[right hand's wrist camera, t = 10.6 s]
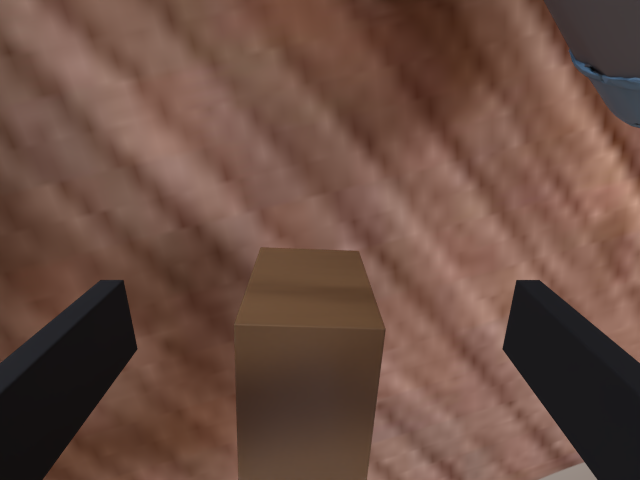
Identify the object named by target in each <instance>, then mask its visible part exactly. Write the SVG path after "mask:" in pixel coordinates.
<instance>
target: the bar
mask: <svg viewBox="0 0 640 480" xmlns="http://www.w3.org/2000/svg"><path fill="white" fill-rule="evenodd" d="M384 337H385V326H384V323H383V321H382V318H381V315H380V312H379V309H378V306H377V303H376V300H375V297H374V294H373V291H372V288H371V285H370V282H369V280H368V277H367V274H366V271H365V268H364V265H363V262H362V259H361V256H360V253H359V251H343V250H317V249H290V248H263V247H261V248H260V251H259V254H258V257H257V260H256V263H255V265H254V268H253V271H252V274H251V277H250V280H249V283H248V286H247V289H246V292H245V294H244V297H243V300H242V303H241V306H240V309H239V312H238V315H237V318H236V321H235V323H234V342H235V377H236V412H237V446H238V480H367V474H368V466H369V458H370V450H371V442H372V434H373V426H374V418H375V410H376V402H377V394H378V386H379V377H380V369H381V361H382V353H383V345H384Z"/></svg>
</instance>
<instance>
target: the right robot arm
mask: <svg viewBox="0 0 640 480" xmlns="http://www.w3.org/2000/svg"><path fill="white" fill-rule="evenodd" d="M544 2H545V4H546V6H547V7H548V9H549V11H550V13H551V15H552V17H553V19H554V20H555V22H556V24H557V26H558V28H559V30H560V32H561V33H562V35H563V37H564V39H565V41H566V43H567V44H568V46H569V48H570V49H569V52H570V55H571V58H572V62H573V63H574V66H575V67H576V68H577V69H578V70H579V71H580V72H581V73H582V74H584V75H585V76H586V77H588V78H589V79H590V81H591V82H592V84H593V85H594V87H595V88H596V90H597V91H598V93H599V95H600V96H601V98H602V99H603V101H604V102H605V104H606V105H607V107H608V108H609V109H610V111H611V112H612V113H613V114H614V115H615V116H616V117H618V118H619V119H620V120H622V121H624V122H625V123H627V124H629V125H631V126H634V127H638V128H640V0H544ZM136 350H137V344H136V339H135V335H134V330H133V325H132V320H131V315H130V310H129V305H128V300H127V295H126V290H125V285H124V280H100V281H99V282H98V283H97V284H95V285H94V286H93V287H92V288H90V289H89V290H88V291H87V292H86V293H84V294H83V295H82V296H81V297H80V298H78V299H77V300H76V301H75V302H74V303H72V304H71V305H70V306H69V307H68V308H66V309H65V310H64V311H63V312H62V313H60V314H59V315H58V316H57V317H55V318H54V319H53V320H52V321H51V322H49V323H48V324H47V325H46V326H45V327H43V328H42V329H41V330H40V331H39V332H37V333H36V334H35V335H34V336H33V337H31V338H30V339H29V340H28V341H27V342H25V343H24V344H23V345H22V346H21V347H19V348H18V349H17V350H16V351H14V352H13V353H12V354H11V355H10V356H8V357H7V358H6V359H5V360H4V361H2V362H1V363H0V480H43V478H44V477H45V475H46V474H47V473H48V471H49V470H50V469H51V467H52V466H53V464H54V463H55V462H56V460H57V459H58V458H59V456H60V455H61V453H62V452H63V451H64V449H65V448H66V447H67V445H68V444H69V442H70V441H71V440H72V438H73V437H74V436H75V434H76V433H77V432H78V430H79V429H80V427H81V426H82V425H83V423H84V422H85V421H86V419H87V418H88V416H89V415H90V414H91V412H92V411H93V410H94V408H95V407H96V405H97V404H98V403H99V401H100V400H101V399H102V397H103V396H104V394H105V393H106V392H107V390H108V389H109V388H110V386H111V385H112V383H113V382H114V381H115V379H116V378H117V377H118V375H119V374H120V372H121V371H122V370H123V368H124V367H125V366H126V364H127V363H128V361H129V360H130V359H131V357H132V356H133V355H134V353H135V352H136ZM503 350H504V352H505V353H506V355H507V356H508V357H509V359H510V360H511V361H512V363H513V364H514V366H515V367H516V368H517V370H518V371H519V372H520V374H521V375H522V377H523V378H524V379H525V381H526V382H527V383H528V385H529V386H530V388H531V389H532V390H533V392H534V393H535V394H536V396H537V397H538V399H539V400H540V401H541V403H542V404H543V405H544V407H545V408H546V410H547V411H548V412H549V414H550V415H551V416H552V418H553V419H554V421H555V422H556V423H557V425H558V426H559V427H560V429H561V430H562V432H563V433H564V434H565V436H566V437H567V438H568V440H569V441H570V442H571V444H572V445H573V447H574V448H575V449H576V451H577V452H578V453H579V455H580V456H581V458H582V459H583V460H584V462H585V463H586V464H587V466H588V467H589V469H590V470H591V471H592V473H593V474H594V475H595V477H596V478H597V480H640V363H639V362H638V361H636V360H635V359H634V358H633V357H632V356H630V355H629V354H628V353H627V352H626V351H624V350H623V349H622V348H621V347H619V346H618V345H617V344H616V343H615V342H613V341H612V340H611V339H610V338H609V337H607V336H606V335H605V334H604V333H603V332H601V331H600V330H599V329H598V328H597V327H595V326H594V325H593V324H592V323H591V322H589V321H588V320H587V319H586V318H585V317H583V316H582V315H581V314H580V313H578V312H577V311H576V310H575V309H574V308H572V307H571V306H570V305H569V304H568V303H566V302H565V301H564V300H563V299H562V298H560V297H559V296H558V295H557V294H556V293H554V292H553V291H552V290H551V289H550V288H548V287H547V286H546V285H545V284H543V283H542V282H541V281H540V280H516V285H515V290H514V295H513V300H512V305H511V310H510V315H509V320H508V325H507V330H506V335H505V339H504V344H503Z"/></svg>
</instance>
